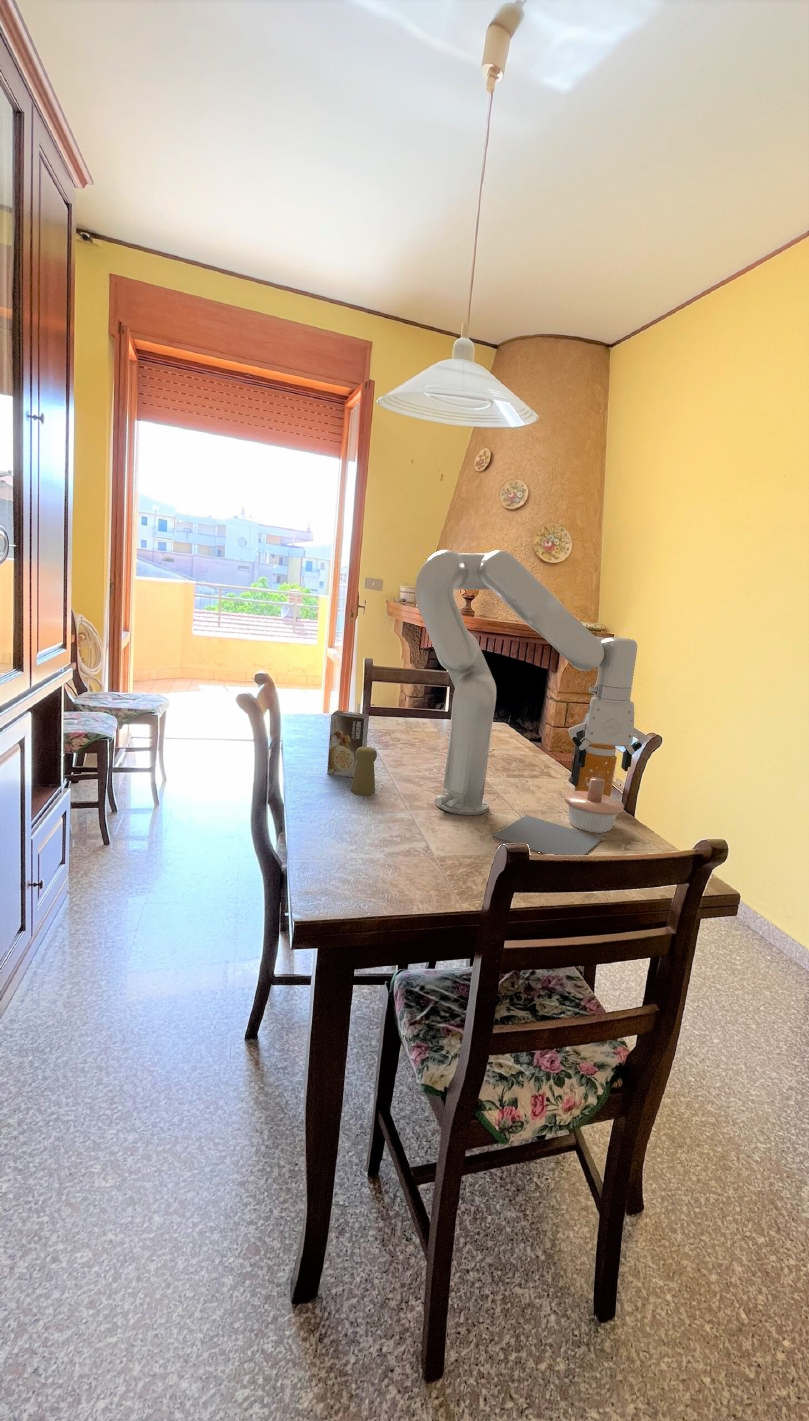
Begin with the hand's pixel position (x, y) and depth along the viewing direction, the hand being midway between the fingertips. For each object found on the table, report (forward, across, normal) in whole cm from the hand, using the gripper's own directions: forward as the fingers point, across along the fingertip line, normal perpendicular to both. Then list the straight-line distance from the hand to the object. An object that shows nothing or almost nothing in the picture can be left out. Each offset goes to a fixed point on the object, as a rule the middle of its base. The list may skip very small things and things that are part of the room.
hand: (602, 767), depth 143 cm
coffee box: (+12, -61, +18) cm, 65 cm away
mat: (+14, -12, -12) cm, 22 cm away
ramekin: (+14, -1, 0) cm, 14 cm away
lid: (+9, -1, 0) cm, 9 cm away
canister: (+14, +2, +18) cm, 23 cm away
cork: (+13, -55, +5) cm, 57 cm away
